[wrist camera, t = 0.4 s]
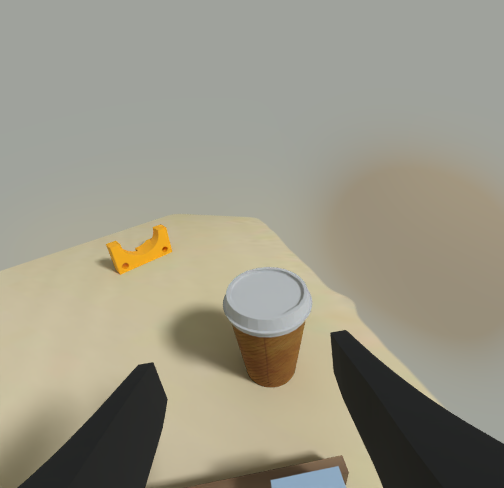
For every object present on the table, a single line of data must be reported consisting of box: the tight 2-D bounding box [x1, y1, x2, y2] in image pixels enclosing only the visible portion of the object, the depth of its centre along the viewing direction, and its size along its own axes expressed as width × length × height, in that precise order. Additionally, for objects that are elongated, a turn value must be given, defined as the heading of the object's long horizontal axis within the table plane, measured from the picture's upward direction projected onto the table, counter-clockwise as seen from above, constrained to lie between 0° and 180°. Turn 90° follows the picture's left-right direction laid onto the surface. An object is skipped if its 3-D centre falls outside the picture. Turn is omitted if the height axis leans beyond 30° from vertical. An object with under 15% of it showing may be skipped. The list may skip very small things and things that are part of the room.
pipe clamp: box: [106, 224, 172, 274], centre depth 58 cm, size 12×4×6 cm, turn 134°
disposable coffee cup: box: [223, 267, 312, 387], centre depth 31 cm, size 10×10×12 cm
